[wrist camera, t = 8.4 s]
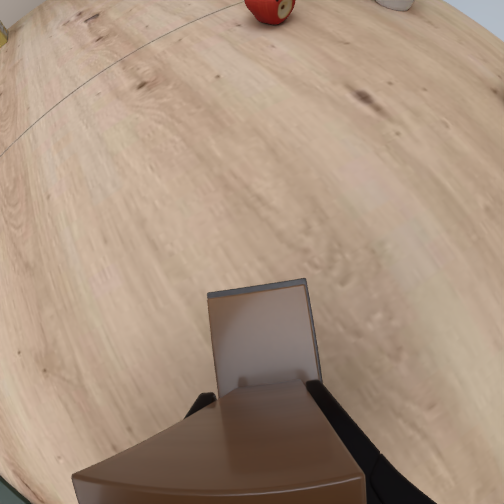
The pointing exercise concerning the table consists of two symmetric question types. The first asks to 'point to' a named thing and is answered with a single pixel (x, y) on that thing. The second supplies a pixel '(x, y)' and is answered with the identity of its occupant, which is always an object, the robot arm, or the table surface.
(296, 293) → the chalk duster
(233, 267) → the table surface
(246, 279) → the table surface
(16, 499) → the chalkboard
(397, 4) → the coffee cup
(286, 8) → the apple
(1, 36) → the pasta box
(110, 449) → the table surface
